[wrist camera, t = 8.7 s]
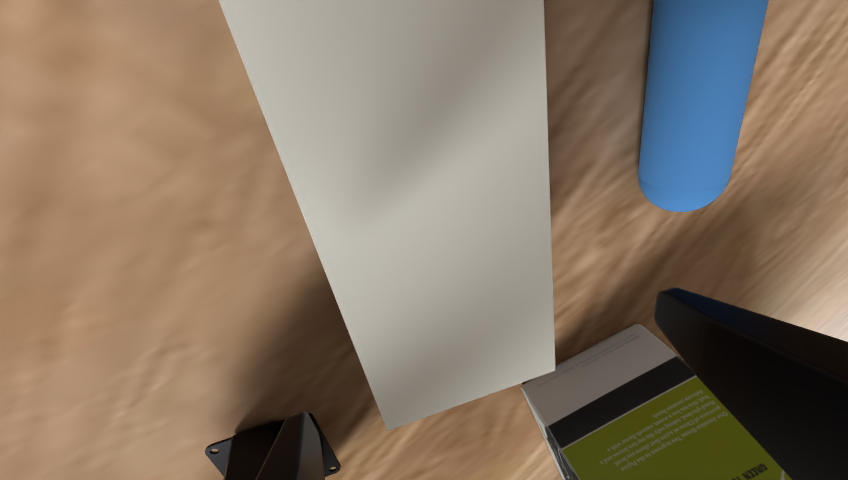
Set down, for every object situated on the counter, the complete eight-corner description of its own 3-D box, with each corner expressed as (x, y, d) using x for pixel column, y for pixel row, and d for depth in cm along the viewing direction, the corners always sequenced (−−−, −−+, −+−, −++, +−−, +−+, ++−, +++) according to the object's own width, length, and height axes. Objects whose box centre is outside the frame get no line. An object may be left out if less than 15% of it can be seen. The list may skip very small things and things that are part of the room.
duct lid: (537, 346, 19) (555, 370, 18) (381, 400, 18) (387, 430, 17) (493, -365, 8) (530, -441, 7) (106, -323, 7) (61, -402, 6)
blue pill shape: (679, 185, 23) (742, 211, 20) (619, 203, 23) (673, 234, 20) (735, -192, 15) (857, -254, 12) (644, -175, 15) (744, -236, 12)
